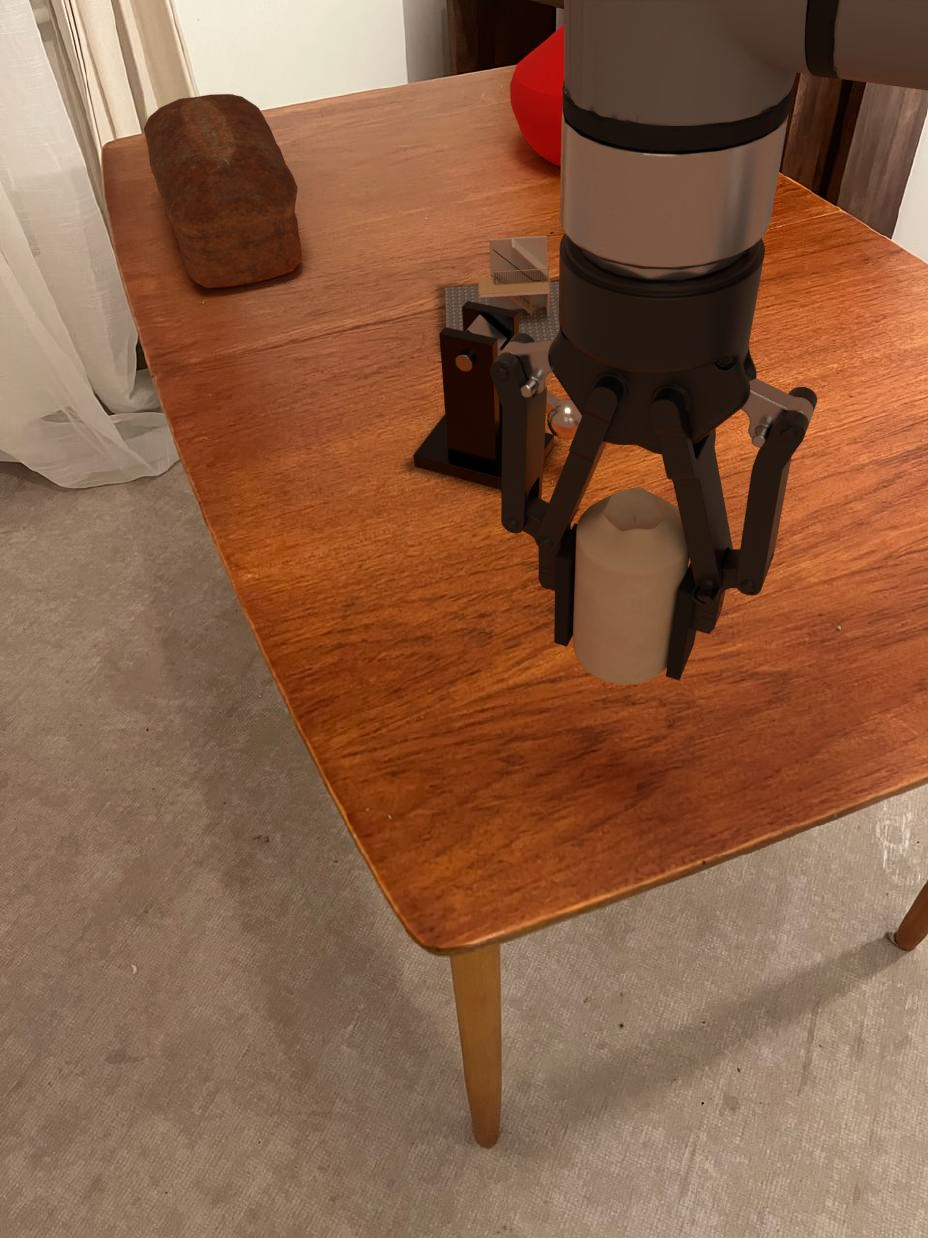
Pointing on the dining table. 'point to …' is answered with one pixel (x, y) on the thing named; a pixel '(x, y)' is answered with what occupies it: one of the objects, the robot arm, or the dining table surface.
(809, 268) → the dining table surface
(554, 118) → the vase
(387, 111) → the dining table surface
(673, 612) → the candle
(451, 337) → the bracket
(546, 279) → the architectural model
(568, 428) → the lever
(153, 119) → the bread
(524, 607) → the dining table surface
